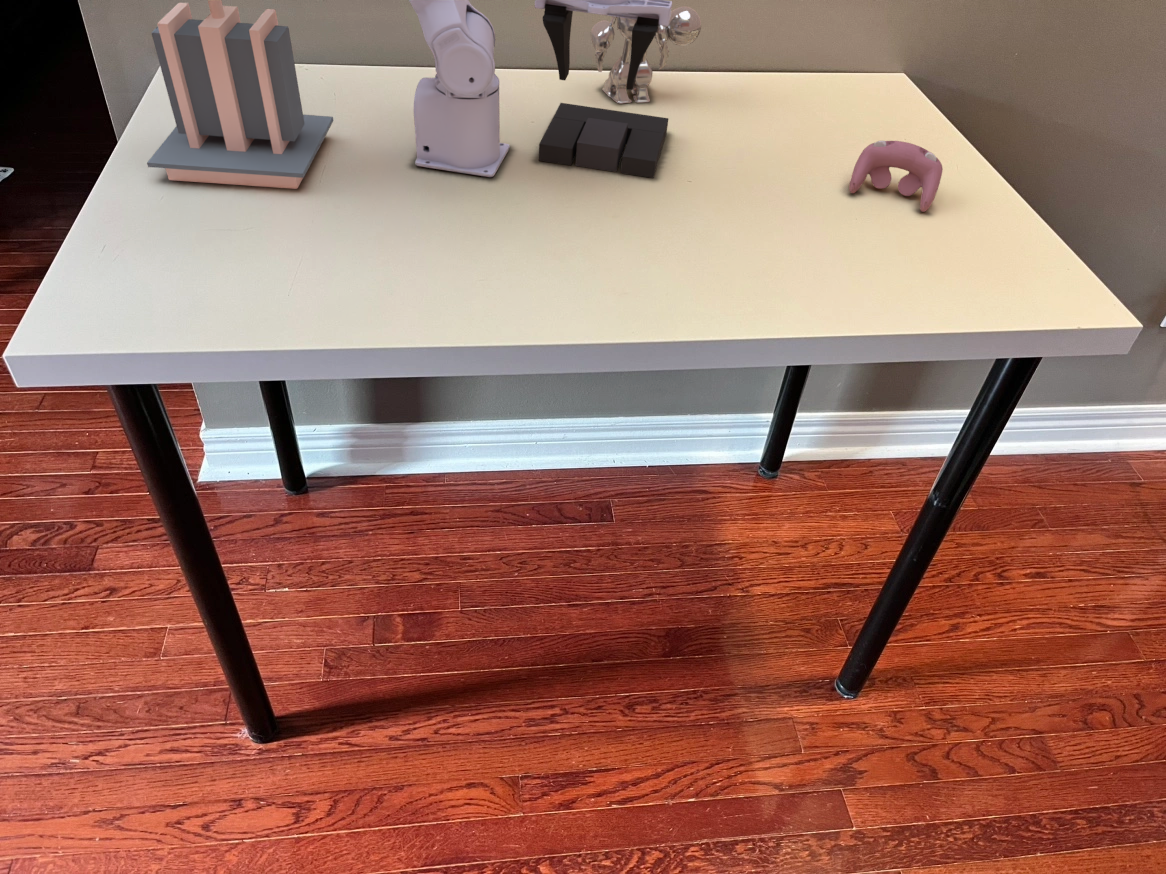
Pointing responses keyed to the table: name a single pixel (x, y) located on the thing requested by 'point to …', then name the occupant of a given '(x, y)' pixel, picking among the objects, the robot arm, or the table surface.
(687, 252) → the table surface
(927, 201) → the video game controller
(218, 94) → the striped block on base
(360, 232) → the table surface
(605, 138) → the pad
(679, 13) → the robot toy
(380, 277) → the table surface
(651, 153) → the notched dark slab
